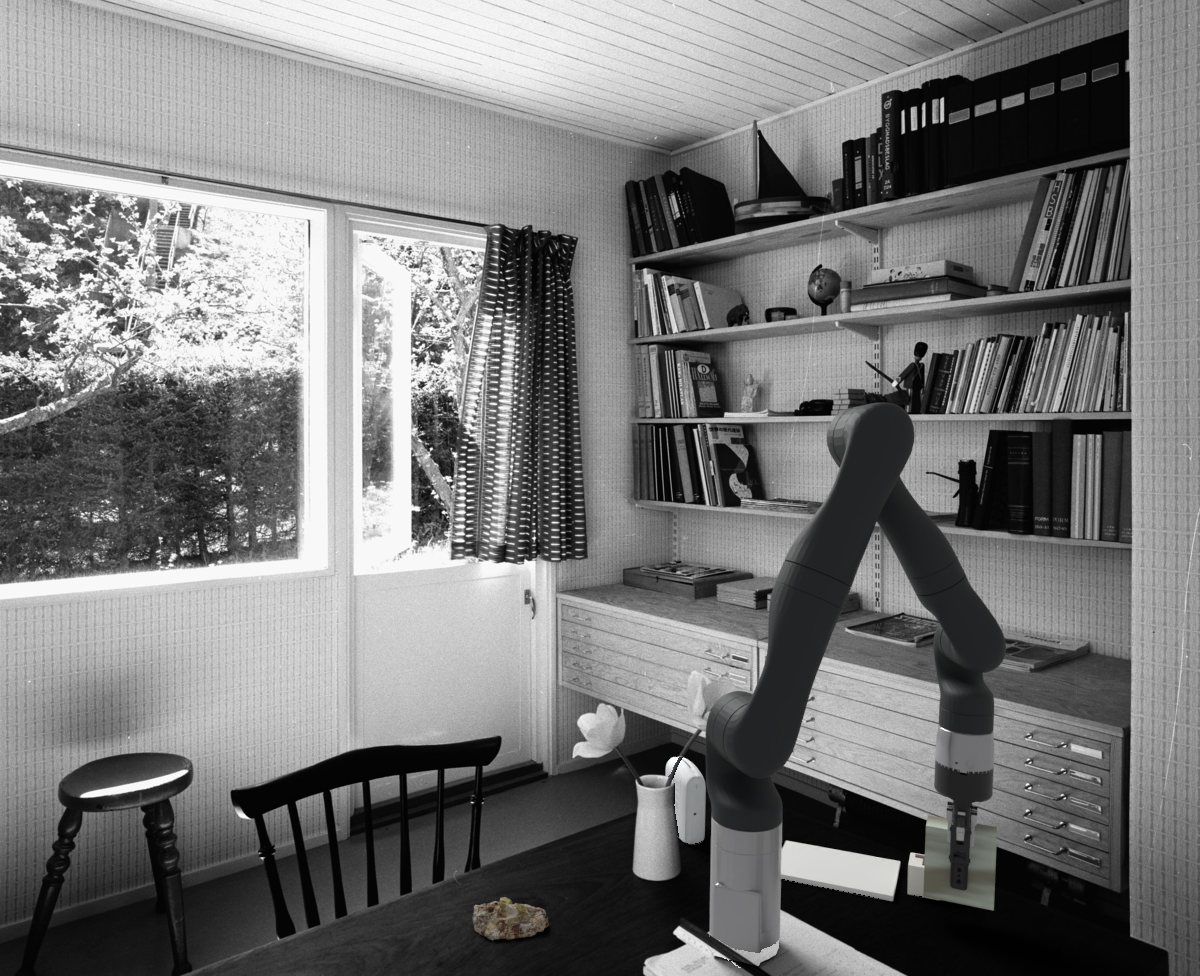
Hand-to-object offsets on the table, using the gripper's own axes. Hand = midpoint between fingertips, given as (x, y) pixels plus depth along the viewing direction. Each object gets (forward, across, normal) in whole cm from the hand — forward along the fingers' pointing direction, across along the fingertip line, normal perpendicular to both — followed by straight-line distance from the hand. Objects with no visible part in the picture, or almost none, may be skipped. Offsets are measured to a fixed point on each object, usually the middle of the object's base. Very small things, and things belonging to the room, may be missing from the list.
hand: (959, 880), depth 126 cm
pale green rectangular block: (+2, 0, 0) cm, 2 cm away
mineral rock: (+7, +26, -56) cm, 63 cm away
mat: (+6, -8, -18) cm, 21 cm away
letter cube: (+6, -8, -5) cm, 11 cm away
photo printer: (+7, -12, -44) cm, 46 cm away
